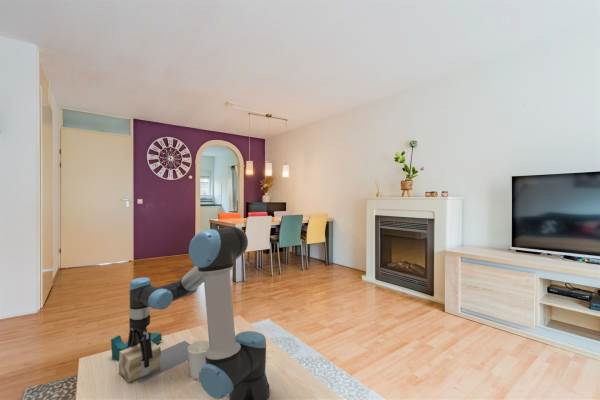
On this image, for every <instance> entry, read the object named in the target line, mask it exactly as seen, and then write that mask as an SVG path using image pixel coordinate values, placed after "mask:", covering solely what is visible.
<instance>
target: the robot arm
mask: <svg viewBox="0 0 600 400" xmlns="http://www.w3.org/2000/svg"><path fill="white" fill-rule="evenodd" d="M248 246H249V239H248V236H247V234H246V233H245V232H244V231H243V230H242V229H241V228H239V227H236V226H227V227H218V228H213V229H212V228H210V229H209V228H208V229H206V230H201V231H199V232H197V233H196V234H195V235H194V236H193V238H192V239H191V240H190V242H189V247H188V256H189V257H188V258H189V260H190V261H192V262H191V263H192V264H193V267H192V268H191V269H190V270H189V271H188V272H187V273H186V274H184V275H183V276H182V277H181V278H180V279H178V280H176V281H172V282H169V283H167V284H164V285H160V286H153V285H152V281H151V278H150V277H137V278H134V279H132V280H131V281H130V283H129V290H128V291H129V310H128V311H129V312H128V314H129V319H128V320H129V326H128V327H129V333H128V338H127V342H128V346H130V347H132V346H135V345H137V344H138V343H139V344H140V348H141V352H142V357H143V359H142V360H141V361H142V371H141V376H144V375H146V374H148V373H149V359H151V358H153V356H152V347H151V333H152V332H148V330H147V328H148V326H149V325H150V324H151V315H150V314H151V308H152V309H154V310H160V311H162V310H166V309H167V308H168V307H169V306H171V304H172V303H173V302H175V301H177V300H180V299H183V298H185V297H189V296H191V295H193V294H195V293H196V292H197V291H198V288H199V287H200V286H202V284H204V297H205V298H204V299H205V309H206V310H205V311H206V320H207V321H206V322H207V332H208V333H207V334H208V341H209V348H208V349H207V351H206V353H205V358H206V364H205V365H203V366H202V368H201V369H200V371H199V380H200V381H199V382H200V386H201V387H202V389H203V390H204V392H205V393H206V394H207V395H208V396H210V397H211V398H213V399H215V400H220V399H224V398H225V397H226V396H228V395H229V396H228V399H229V400H267V399H269V397H270V390H271V389H270V384H269V381H268V377H267V374H266V367H267V366H266V362H267V361H266V360H267V358H266V356H267V338H266V336H265V335H264V334H262V332H261V333H260V332H259V331H252V330H245V331H242V332H238V333H237V334H236V332H235V331H236V329H235V319H234V318H235V317H234V309H233V296H232V285H231V273H230V272H231V271H232V269H233V268H234V266H235V265H234V262H235V261H236V260H237V259H239V258H240V257H242V256H243V255H244V254H245V252H246V250H247V249H248ZM147 332H148V333H147ZM142 339H143V340H142ZM130 342H131V343H130ZM130 347H129V348H130Z"/></svg>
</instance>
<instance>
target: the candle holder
mask: <svg viewBox="0 0 600 400" xmlns="http://www.w3.org/2000/svg"><path fill="white" fill-rule="evenodd" d="M190 344H191V345H189V347H188V360H187V361H188V375H189V376H190V377H191V378H194V379H193V380H192V381H194V382H198V381H199V382H200V380H199V371H200V369H201V368H202V366H203V365H205V364H206V358H205V353H206V351H207V349H208V348H209V340H197V341H194V342H192V343H190Z"/></svg>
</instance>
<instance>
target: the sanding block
mask: <svg viewBox="0 0 600 400" xmlns="http://www.w3.org/2000/svg"><path fill="white" fill-rule="evenodd" d="M151 347H152V356H153V358H151V359H149V373H148V374H151V373H153V372H155V371H157V370H159V369H160V360H161V351H162V347H160V346H159V345H158V344H155V343H153V342H152V341H151ZM142 359H143V357H142V352H141V348H140V344H137V345H135V346H132V347H130V348H127V349H124V350H122V351H119V361H118V373H119V375H120V376H122V377H123V379H124V380H126V381H127V382H128V384H131V383H133V382H136V381H137V380H138V379H140V378H142V377H144V376H146V375H148V374H146V375H144V376H141V371H142V361H141V360H142Z"/></svg>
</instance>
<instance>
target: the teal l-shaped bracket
mask: <svg viewBox="0 0 600 400" xmlns="http://www.w3.org/2000/svg"><path fill="white" fill-rule="evenodd" d="M147 333H149V332H148V331H147ZM150 333H151V341H152V342H153V343H155V344H156V345H158V344H159V343H161V342H162V341H163V339H162V337H163V336H162V333H161V332H150ZM121 337H122V336H121V335H116V336H115V337H112V338H111V339H110V344H111V345H110V346H111V348H110V349H111V359H112V360H113V361H118V362H119V351H122V350H124V349H127V348H129V347H130V346H128V341H127V342H124V341H123V340H122V338H121ZM142 340H143V339H142ZM130 343H131V342H130ZM138 344H139V343H138Z"/></svg>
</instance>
